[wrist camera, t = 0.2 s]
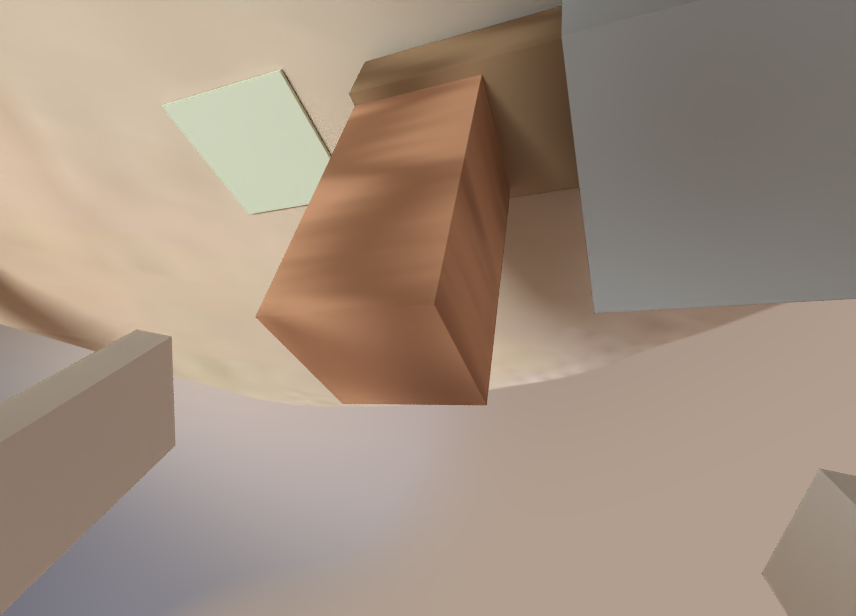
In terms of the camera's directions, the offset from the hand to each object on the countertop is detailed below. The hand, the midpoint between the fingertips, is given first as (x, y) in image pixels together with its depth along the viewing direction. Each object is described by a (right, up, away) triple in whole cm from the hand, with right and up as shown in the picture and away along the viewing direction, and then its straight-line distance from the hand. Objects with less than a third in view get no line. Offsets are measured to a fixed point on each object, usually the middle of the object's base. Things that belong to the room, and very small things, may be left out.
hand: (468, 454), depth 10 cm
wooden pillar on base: (+5, +12, +9) cm, 15 cm away
